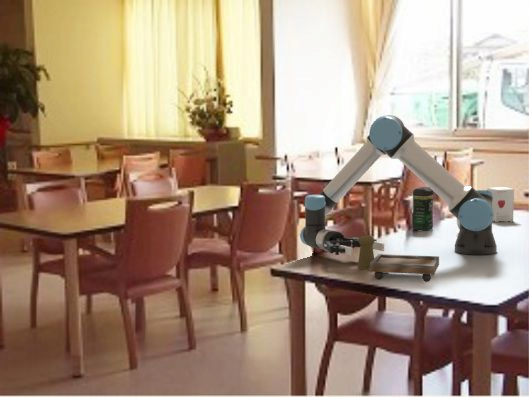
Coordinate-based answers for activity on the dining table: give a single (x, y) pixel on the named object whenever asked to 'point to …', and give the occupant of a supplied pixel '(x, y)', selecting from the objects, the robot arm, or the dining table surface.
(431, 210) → the coffee jar
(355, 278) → the dining table surface
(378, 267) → the cart
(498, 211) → the supplement box
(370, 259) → the cork
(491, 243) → the robot arm
